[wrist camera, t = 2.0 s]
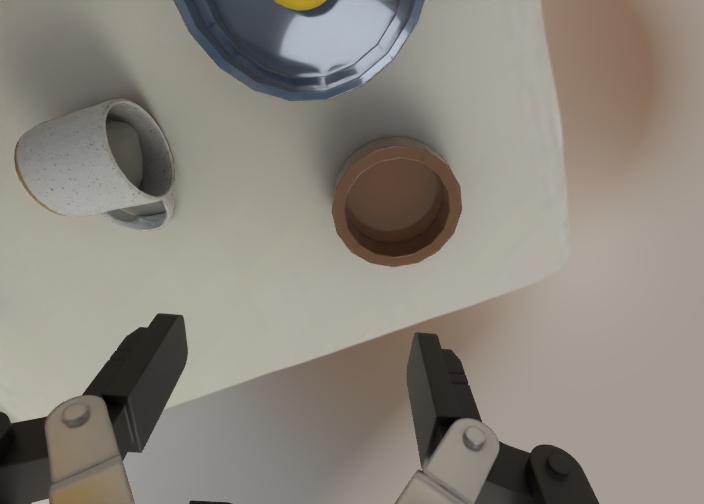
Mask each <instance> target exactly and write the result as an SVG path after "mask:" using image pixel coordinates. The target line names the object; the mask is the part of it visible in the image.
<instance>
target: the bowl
mask: <svg viewBox="0 0 704 504" xmlns="http://www.w3.org/2000/svg"><path fill="white" fill-rule="evenodd" d="M424 1H425V0H326V1H325V2H324V3H322V4H321V5H320V6H318V7H315V8H313V9H310V10H299V11H297V10H293V9H289V8H285V7H284V6H282V5H280V4H278V3H276V2H275V1H274V0H174V2H175V4H176V6H177V8H178V10H179V12H180V14H181V16H182V18H183V20H184V22H185V24H186V26H187V28H188V30H189V32H190V34H191V35H192V36H193V37H194V38H195V40H196V41H197V42H198V43H199V44H200V45H201V47H202V48H203V49H204V50H205V51H206V52H207V54H208V55H209V56H210V57H211V58H212V59H213V61H214V62H215V63H216V64H217V65H218V66H219V67H220V68H221V69H223V70H224V71H226V72H227V73H229V74H230V75H232V76H233V77H235V78H236V79H238V80H239V81H241V82H242V83H244V84H245V85H247V86H248V87H250V88H251V89H253V90H255V91H258V92H261V93H265V94H268V95H272V96H275V97H278V98H282V99H285V100H289V101H305V100H327V99H330V98H333V97H336V96H338V95H341V94H343V93H346V92H348V91H351V90H353V89H356V88H358V87H361V86H362V85H364V84H365V83H367V82H368V81H369V80H370V79H371V78H373V77H374V76H375V75H376V74H377V73H379V72H380V71H381V70H382V69H383V68H384V67H386V66H387V65H388V64H389V63H390V62H392V61H393V59H394V58H395V57H396V55H397V54H398V52H399V51H400V49H401V48H402V46H403V45H404V43H405V41H406V40H407V38H408V37H409V35H410V34H411V32H412V31H413V29H414V27H415V26H416V24H417V22H418V20H419V17H420V13H421V10H422V7H423V4H424Z"/></svg>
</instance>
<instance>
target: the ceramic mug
mask: <svg viewBox="0 0 704 504" xmlns="http://www.w3.org/2000/svg"><path fill="white" fill-rule="evenodd" d="M14 160H15V168H16V171H17V174H18V176H19V179H20V181H21V183H22V184H23V186H24V188H25V189H26V190H27V192H28V193H29V194H30V195H31V196H32V197H33V198H34V199H35V200H36V201H37V202H38V203H39V204H40V205H42V206H43V207H45V208H46V209H48V210H50V211H52V212H54V213H57V214H60V215H64V216H90V215H95V214H100V213H101V214H102V215H104V216H105V217H106V218H107V219H109V220H110V221H112V222H113V223H115V224H117V225H119V226H121V227H124V228H128V229H132V230H137V231H150V230H156V229H160V228H162V227H164V226H166V225H167V224H168V223H169V222H170V219H171V217H172V214H173V210H174V199H173V196H172V194H171V191H172V188H173V186H174V180H175V170H174V162H173V158H172V154H171V151H170V148H169V146H168V143H167V141H166V139H165V137H164V135H163V133H162V131H161V129H160V128H159V126H158V125H157V123H156V122H155V120H154V119H153V118H152V117H151V116H150V115H149V114H148V113H147V112H146V110H144V109H143V108H142V107H141V106H139V105H138V104H136V103H134V102H132V101H130V100H126V99H122V98H116V99H112V100H109V101H106V102H103V103H100V104H97V105H94V106H91V107H88V108H85V109H82V110H79V111H76V112H73V113H70V114H68V115H65V116H62V117H58V118H55V119H52V120H49V121H46V122H43V123H41V124H38V125H37V126H35V127H34V128H32V129H30V130H28V131H27V132H26V133H25V134H23V135H22V136H21V138H20V139H19V141H18V142H17V145H16V148H15V156H14ZM161 200H162V202H163V204H164V206H165V209H166V212H165V213H162V214H158V215H151V216H139V217H138V216H133V215H130V214H128V213H125V212H124V211H122V210H120V209H122V208H128V207H133V206H138V205H143V204H149V203H154V202H158V201H161Z"/></svg>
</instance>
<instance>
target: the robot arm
mask: <svg viewBox="0 0 704 504" xmlns="http://www.w3.org/2000/svg"><path fill="white" fill-rule="evenodd" d="M187 355H188V348H187V340H186V332H185V324H184V318H183V316H182V315H175V314H161V313H159V314H157V315H156V316H155V318H154V319H153V321H152V322H151V324H150V325H149V326H148V328H144V327H140V328H138V329H137V330H135V331H134V332H132V333H131V334H129V335H128V336H127V337H126V338H125V339H124V340H123V342H122V343H121V344H120V345H119V347H118V348H117V351H115V352H114V353H113V355H112V356H111V357H110V360H108V361H107V363H106V364H105V365H104V367H103V368H102V369H101V371H100V372H99V373H98V375H97V376H96V377H95V379H94V380H93V381H92V383H91V384H90V385H89V387H88V388H87V389H86V391H85V392H84V393H83V395H82V396H78V397H74V398H72V399H69V400H67V401H65V402H63V403H61V404H60V405H58V406H57V407H56V408H55V409H54V410H53V411H52V412H51V413H50V414H49V415H48V416H47V417H43V418H38V419H32V420H27V421H22V422H17V423H11V422H10V420H9V418H8V416H7V415H6V414H5V413H3V412H0V504H31V503H32V502H36V501H40V500H44V499H48V498H49V502H50V504H135V503H134V499H133V496H132V492H131V489H130V485H129V482H128V478H127V475H126V471H125V468H124V464H123V460H124V458H125V456H126V454H127V452H140V453H142V451H143V449H144V447H145V445H146V443H147V441H148V439H149V437H150V435H151V433H152V431H153V429H154V427H155V425H156V423H157V421H158V419H159V417H160V415H161V413H162V411H163V409H164V407H165V405H166V403H167V401H168V399H169V397H170V395H171V393H172V391H173V389H174V387H175V385H176V383H177V381H178V379H179V377H180V375H181V373H182V371H183V369H184V367H185V365H186V361H187ZM407 386H408V392H409V398H410V403H411V409H412V415H413V421H414V426H415V433H416V439H417V444H418V450H419V456H420V462H421V468H422V469H423V470H422V471H420V470H418V471H417V472H416V473H415V474H414V475H413V477H412V478H411V480H410V481H409V483H408V484H407V486H406V487H405V489H404V490H403V492H402V493H401V495H400V496H399V498H398V499H397V501H396V502H395V504H599V502H598V500H597V498H596V496H595V494H594V492H593V490H592V488H591V486H590V484H589V482H588V479H587V477H586V476H585V473H584V471H583V469H582V468H581V466H580V465H579V463H578V462H577V461H576V460H575V459H574V458H573V457H572V456H571V455H570V454H568V453H567V452H565V451H564V450H562V449H560V448H558V447H555V446H552V445H539V446H536V447H535V448H534V449H533V450H532V452H531V453H528V452H525V451H522V450H519V449H517V448H514V447H511V446H508V445H506V444H503V443H502V442H500V441H499V440H498V438H497V436H496V435H495V433H494V432H493V431H492V430H491V429H490V428H489V427H488V426H487V425H485V424H484V423H482V420H481V418H480V415H479V412H478V409H477V406H476V403H475V401H474V398H473V395H472V392H471V389H470V386H469V385H468V381H467V378H466V375H465V372H464V369H463V366H462V363H461V361H460V359H459V358H458V357H457V356H456V355H455V354H454V353H453V351H452V350H447V349H441V346H440V343H439V339H438V336H437V334H430V333H429V334H428V333H415V334H414V337H413V341H412V346H411V351H410V355H409V360H408V365H407ZM189 504H231V503H227V502H206V501H190V503H189Z"/></svg>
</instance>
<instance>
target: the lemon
mask: <svg viewBox="0 0 704 504" xmlns="http://www.w3.org/2000/svg"><path fill="white" fill-rule="evenodd" d="M274 1H275V2H276V3H278V4H280V5H282V6H284V7H285V8H289V9H293V10H297V11H299V10H310V9H313V8H315V7H318V6H320V5H321V4H322V3H324V2H325V1H326V0H274Z"/></svg>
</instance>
